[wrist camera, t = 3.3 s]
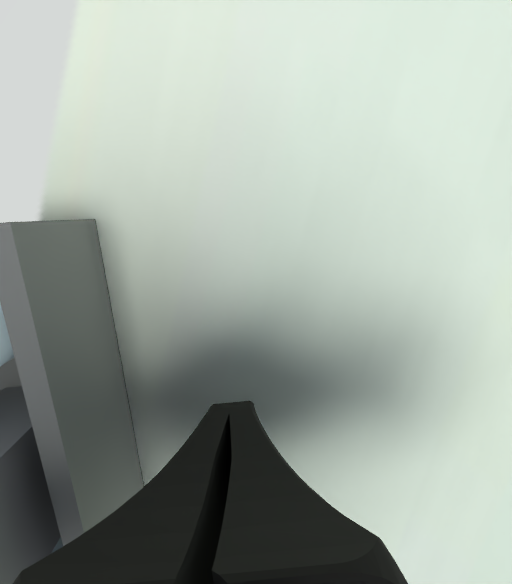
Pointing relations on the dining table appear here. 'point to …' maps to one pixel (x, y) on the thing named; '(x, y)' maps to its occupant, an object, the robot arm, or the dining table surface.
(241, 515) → the robot arm
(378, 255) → the dining table surface
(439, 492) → the dining table surface
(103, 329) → the tray
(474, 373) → the dining table surface
